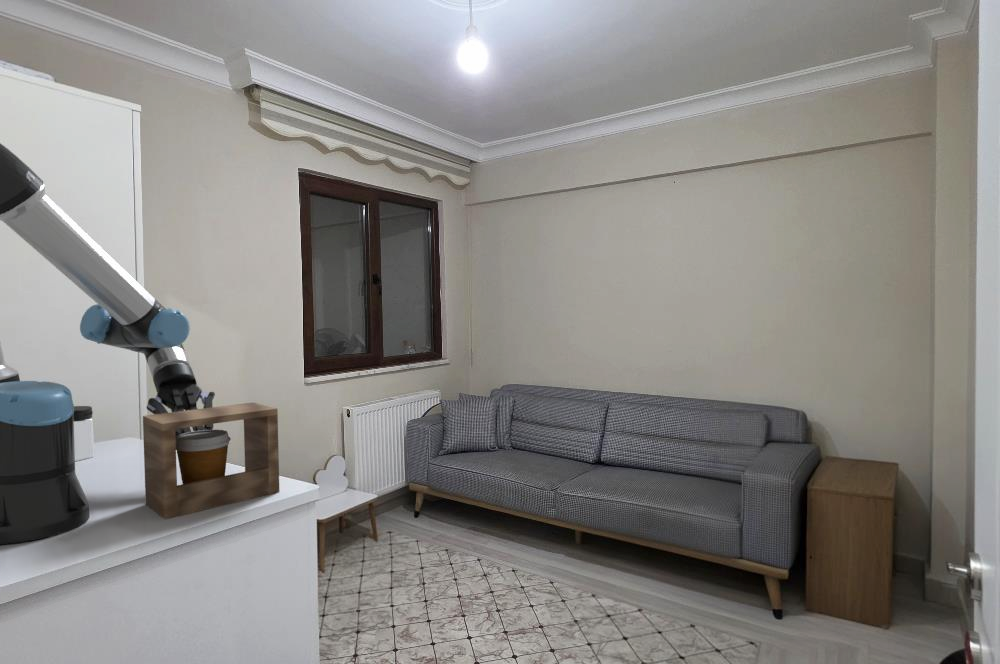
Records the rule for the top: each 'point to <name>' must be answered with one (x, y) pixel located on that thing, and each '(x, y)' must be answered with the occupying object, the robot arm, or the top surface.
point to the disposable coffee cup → (202, 454)
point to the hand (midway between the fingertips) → (203, 464)
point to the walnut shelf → (215, 491)
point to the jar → (83, 432)
